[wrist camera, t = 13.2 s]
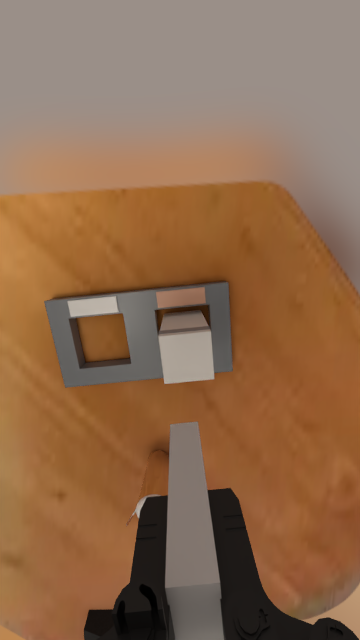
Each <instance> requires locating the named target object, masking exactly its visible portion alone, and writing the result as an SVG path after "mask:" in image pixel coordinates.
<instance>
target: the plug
mask: <svg viewBox="0 0 360 640" xmlns="http://www.w3.org/2000/svg"><path fill="white" fill-rule="evenodd" d="M158 335H159V336H158V337H159V345H160V353H161V361H162V369H163V376H164V384H169V383H180V382H190V381H200V380H211V379H214V366H213V352H212V338H211V329H210V327H209V326H208V324H207V322H206V320H205V318H204V316H203V314H202V312H201V310H195V311H185V312H175V313H165V314H164V316H163V320H162V324H161V328H160V331H159V333H158Z"/></svg>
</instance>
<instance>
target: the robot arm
mask: <svg viewBox="0 0 360 640" xmlns="http://www.w3.org/2000/svg"><path fill="white" fill-rule="evenodd" d="M112 618H113V622H114V626H113V627H112V628H111V629H110V630H109V631H108V632H106V633H105V634H104V635H102V636H101V637H99V638H98V639H96V640H359V639H358V638H357V636H356V635H355V634H354V633H353V631H351V630H350V629H349V628H347V627H346V626H345V625H344V624H342V623H341V622H340V621H337V620H334V619H331V618H322V619H318V621H317V622H316V623H315V624H314V625H312V624H309V623H306V622H304V621H301V620H298V619H296V618H293V617H291V616H289V615H287V614H285V613H283V612H282V611H280V610H279V609H278V608H277V607H276V606H274V604H273V603H272V602H271V601H270V599H269V598H268V597H267V595H266V593H265V591H264V590H263V587H262V584H261V582H260V579H259V575H258V571H257V567H256V563H255V560H254V556H253V552H252V548H251V545H250V541H249V537H248V533H247V530H246V526H245V522H244V518H243V514H242V511H241V507H240V503H239V500H238V498H237V497H236V495H235V494H234V492H233V491H232V490H231V488H226V489H216V490H207V484H206V477H205V470H204V463H203V456H202V448H201V441H200V434H199V427H198V422H189V423H179V424H170V449H169V480H168V495H165V496H155V497H147V498H146V500H145V502H144V504H143V506H142V508H141V510H140V515H139V522H138V529H137V536H136V543H135V550H134V557H133V564H132V571H131V578H130V583H129V584H128V585H127V586H126V587H125V588H123V590H122V591H121V593H120V595H119V596H118V598H117V599H116V602H115V605H114V608H113V611H112Z"/></svg>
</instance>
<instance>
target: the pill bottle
mask: <svg viewBox="0 0 360 640" xmlns="http://www.w3.org/2000/svg"><path fill="white" fill-rule="evenodd" d="M168 480H169V458H168V454H166V453H165V452H164V451H157V450H156V451H154V452H152V453H151V454H150V456H149V458H148V462H147V467H146V471H145V475H144V479H143V484H142V488H141V492H140V495H139V499H138V503H137V507H136V509H135V511H134V512H133V514H132V516H131V517H130V519H129V521H128V522H127V525H128V524H129V522H130V520H131V519H132V517H133V515H134V514H135V512H136V513H137V516H138V518H139V515H140V510H141V508H142V506H143V504H144V502H145V500H146V498H147V497H155V496H165V495H168ZM127 525H126V526H127Z"/></svg>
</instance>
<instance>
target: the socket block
mask: <svg viewBox="0 0 360 640" xmlns="http://www.w3.org/2000/svg"><path fill="white" fill-rule="evenodd" d="M44 302H45V307H46V311H47V315H48V319H49V323H50V327H51V331H52V335H53V339H54V343H55V347H56V352H57V356H58V360H59V364H60V368H61V372H62V376H63V380H64V384H65V387H76V386H86V385H96V384H106V383H116V382H127V381H137V380H147V379H157V378H164V376H163V369H162V361H161V353H160V345H159V337H158V336H159V335H158V333H159V328H158V320H157V312H156V310H159V309H169V308H179V307H189V306H199V305H208V315H209V327H210V329H211V338H212V352H213V366H214V373H219V372H229V371H233V367H232V347H231V327H230V306H229V286H228V282H226V281H222V282H212V283H203V284H193V285H183V286H173V287H163V288H154V289H144V290H134V291H124V292H114V293H105V294H95V295H85V296H75V297H65V298H56V299H50V300H47V301H44ZM120 313H123V316H124V322H125V328H126V334H127V340H128V346H129V353H130V358H129V359H119V360H108V361H98V362H88V363H85V359H84V355H83V350H82V345H81V341H80V336H79V331H78V327H77V322H76V318H80V317H90V316H100V315H110V314H120Z"/></svg>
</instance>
